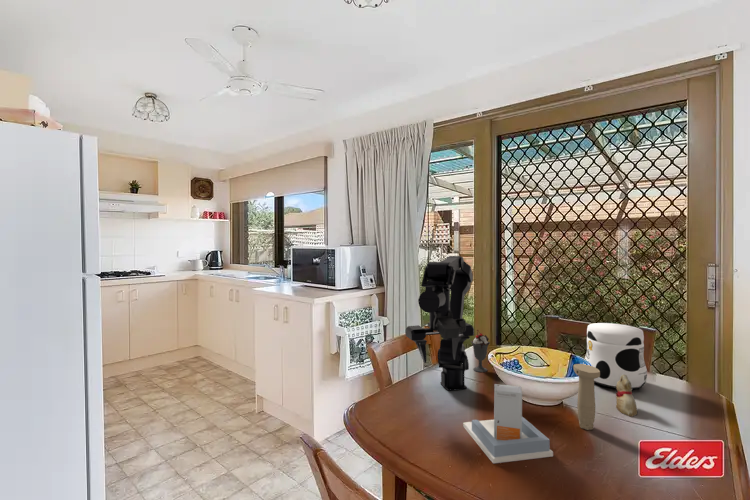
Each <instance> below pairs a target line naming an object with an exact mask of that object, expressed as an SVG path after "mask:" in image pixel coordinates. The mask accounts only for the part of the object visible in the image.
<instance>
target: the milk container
mask: <svg viewBox="0 0 750 500" xmlns="http://www.w3.org/2000/svg"><path fill="white" fill-rule="evenodd" d="M644 335H645V334H644V330H643V329H641V328H639V327H635V326H632V325H628V324H622V323H621V324H620V323H611V322H597V323H596V322H595V323H589V324H588V325H587V328H586V354H585V356H584V359H586V360H587V361H589V362H590V363H591V365H592V366H593V367H595V368H597V369H598V370H599V371H600V377H598V378H595V379H594V384H598V385H600V386H604V387H608V388H612V389H617V388H616V385H617V382H618V381H619V380H620V377H621V375H627V378H628V379H629V381H630V382H631V385H632V386H631V387H632V390H637V389H639V388H642V387H643V386H644V385H645V384H646V383H647V379H648V378H647V377H648V369H647V366H646V362H645V359H644V356H645V355H644V353H645V352H644V351H645V344H644V341H645V336H644Z"/></svg>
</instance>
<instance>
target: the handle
mask: <svg viewBox="0 0 750 500" xmlns="http://www.w3.org/2000/svg"><path fill="white" fill-rule="evenodd" d="M573 371H574V373H575V374H576V375H577V376H578V388H577V390H578V391H577V401H576V402H577V403H576V405H577V418H578V425H579V428H581V429H582V430H583V429H584V430H585V431H590V430H591V431H593V430H594V428H595V427H594V423H595V420H596V419H595V417H596V395H595V394H596V392H595V382H594V379H595V378H598V377H600V371H599V370H598V369H597V368H595V367H593V366H590V365H586V364H584V363H575V364H573Z"/></svg>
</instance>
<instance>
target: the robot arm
mask: <svg viewBox="0 0 750 500" xmlns="http://www.w3.org/2000/svg"><path fill="white" fill-rule="evenodd" d="M473 275H474V273H473V271H472V267H471V265H470V264H468V262H466V261H465V259H464V257H463V256H460V255H449V256H446V258H445V259H443V260H441V261H428V263H427V264H426V265H425V267H424V272H423V276H422V280H421V285H420V286H421V287H423V288H424V289H425V290H424V291H422V292H421V293H420V295H419V297H418V301H417V302H418V306H419V308H420V309H421V310H422V311H423V312H425V313H428V314H429V322H427V326H428V327H427V328H423V327H422V326H420V325H408V326H407V327H406V328H405V336H406V338H408V339H409V340H411V341H413V342H414V343H415V345H416V347H417V348H418V352H419V354H420V357H421V360H422V362H423V363H424V364H426V363H427V347H426V346H427V345H426V344H427V342H428V341H427V339H425V338H426V337H427V336H431V335H432V336H435V335H440V337H441V338H442V339H441V341H440V342H439V343H440V344H439V345H440V346H439V348H438V350H437V363H438V368H439V369H441V368H442V371H441V372H440V385H442V387H444V389H446V390H447V391H448V392H451V391H459V390H467V389H468V386H467V385H466V384H465V372H466V371H468V370H470V367H469V366H470V363H469V359H468V355H467V352H466V350H465V349H466V347H465V344H464V342H466V341H467V340H468V339H469V340H470V338H471V337H472V336H473V337H474V336H475V329H474V326H473V325H472V324H470V323H468V322H466V319H465V318H463V315H464V307H465V306H464V303H465V296H466V294H467V293H468V292H469V290H470V289H471V283H473V281H474V279H473V278H474V276H473Z"/></svg>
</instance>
